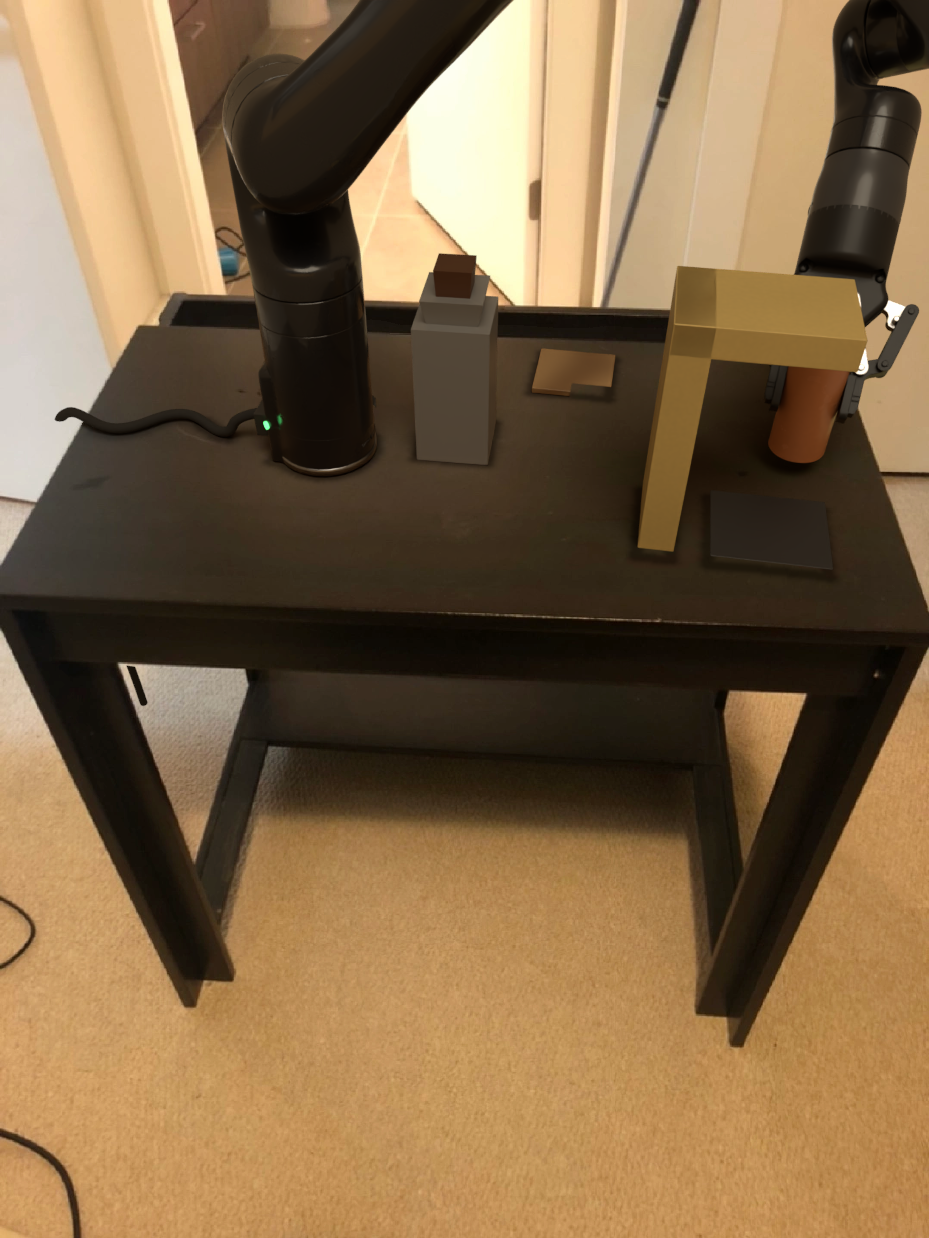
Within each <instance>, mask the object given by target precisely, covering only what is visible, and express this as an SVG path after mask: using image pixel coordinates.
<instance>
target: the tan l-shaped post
mask: <svg viewBox="0 0 929 1238" xmlns="http://www.w3.org/2000/svg"><path fill="white" fill-rule="evenodd" d="M675 271H676V272H675V278H674V284H673V290H672V296H671V303H670V309H669V315H668V320H667V321H668V322H667V329H666V335H665V340H664V347H663V353H662V358H661V359H662V360H661V367H660V373H659V378H658V379H659V380H658V385H657V391H656V396H655V397H656V398H655V404H654V409H653V410H654V411H653V418H652V423H651V428H650V430H651V431H650V436H649V441H648V449H647V456H646V460H645V466H644V467H645V468H644V473H643V474H644V475H643V481H642V489H641V502H640V513H639V524H638V525H639V526H638V538H637V548H639V549H646V550H654V551H655V550H656V551H664V552H674V551H675V546H676V540H677V536H678V532H679V531H678V530H679V527H680V525H679V524H680V520H681V516H682V510H683V505H684V501H685V500H684V499H685V495H686V490H687V484H688V480H689V475H690V470H691V466H692V465H691V464H692V459H693V454H694V450H695V445H696V438H697V435H698V429H699V424H700V419H701V414H702V409H703V403H704V398H705V392H706V389H707V384H708V378H709V373H710V368H711V363H712V361H713V360H714V361H726V362H737V363H748V364H759V365H760V364H761V365H768V366H769V365H781V366H792V367H803V368H814V369H826V370H837V371H848V372H858V369H859V366H860V363H861V360H862V357H863V354H864V351H865V347H866V348H867V344H868V336H867V330H866V327H865V326H864V321H863V317H862V312H861V307H860V302H859V298H858V293H857V288H856V284H855V280H854V279H843V278H830V277H817V276H804V275H794V274H791V273H790V274H788V273H777V272H766V271H765V272H763V271H752V270H751V271H750V270H736V269H725V268H724V269H723V268H711V267H701V266H685V265H677V266H676V270H675ZM709 493H710V495H709V496H710V498H709V499H710V503H709V504H710V505H709V506H710V509H709V512H710V513H709V531H710V532H709V556H711V557H719V558H727V559H736V560H745V561H753V562H761V563H770V564H777V565H778V564H780V565H788V566H789V565H790V566H797V567H805V568H814V569H824V570H831V571H832V570H834V563H833V557H832V549H831V548H832V547H831V540H830V532H829V524H828V516H827V515H828V514H827V509H826V501H819V500H810V499H809V500H808V499H799V498H791V497H790V498H789V497H782V496H781V497H780V496H770V495H762V494H751V493H743V492H734V491H723V490H715V489H711V490H710V492H709Z"/></svg>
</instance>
